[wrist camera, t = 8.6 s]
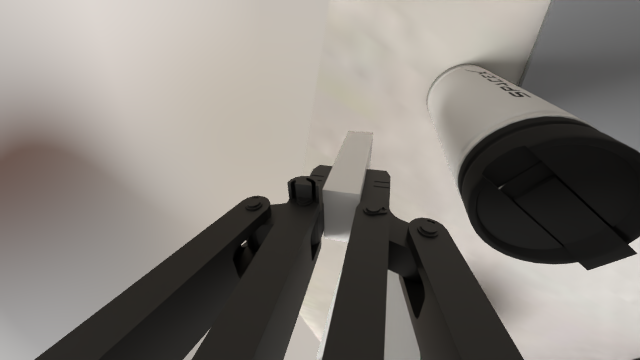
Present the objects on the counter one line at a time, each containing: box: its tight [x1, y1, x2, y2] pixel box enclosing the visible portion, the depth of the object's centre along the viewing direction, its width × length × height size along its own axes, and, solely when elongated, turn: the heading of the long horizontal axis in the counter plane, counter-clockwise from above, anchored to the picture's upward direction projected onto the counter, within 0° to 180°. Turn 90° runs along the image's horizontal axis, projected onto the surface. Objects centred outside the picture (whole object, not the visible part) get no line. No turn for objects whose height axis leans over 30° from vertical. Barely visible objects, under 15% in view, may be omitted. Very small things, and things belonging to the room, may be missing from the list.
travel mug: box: [427, 64, 640, 270], centre depth 18 cm, size 6×7×20 cm
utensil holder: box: [316, 270, 420, 360], centre depth 38 cm, size 15×15×18 cm
